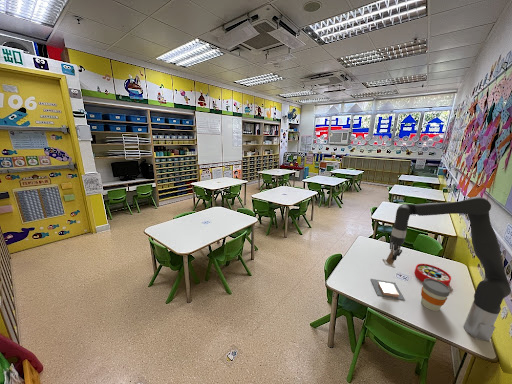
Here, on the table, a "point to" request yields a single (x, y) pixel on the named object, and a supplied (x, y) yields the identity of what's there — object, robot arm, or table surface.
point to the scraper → (389, 260)
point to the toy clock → (432, 273)
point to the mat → (379, 292)
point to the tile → (388, 289)
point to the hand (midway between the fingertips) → (392, 258)
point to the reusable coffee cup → (434, 294)
